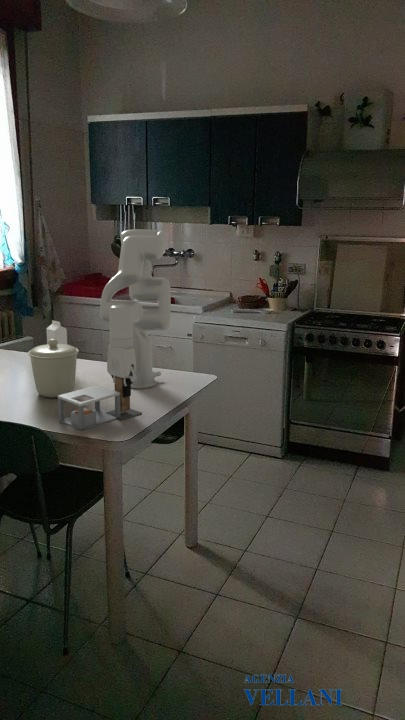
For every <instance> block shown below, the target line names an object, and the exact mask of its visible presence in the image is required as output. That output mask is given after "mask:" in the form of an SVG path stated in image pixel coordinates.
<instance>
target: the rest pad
mask: <svg viewBox="0 0 405 720" xmlns="http://www.w3.org/2000/svg"><path fill="white" fill-rule="evenodd" d="M108 412H109V413H108ZM107 413H108V414H109V415H110V413H112V414H111V416H115V415H114V414H115V409H112V410H109V411H107ZM142 414H143V412H142V411H138V410H135V409H133V408H130V410H127V411H124V412H121V411H120V417H117V419H116V420H119V421H125V420H127V419H128V420H129V419H131V418H134V417H136V416H139V415H142Z"/></svg>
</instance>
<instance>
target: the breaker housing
mask: <svg viewBox="0 0 405 720" xmlns="http://www.w3.org/2000/svg"><path fill="white" fill-rule="evenodd" d="M81 398H87V399H88V400H84V401H79V400H78V399H81ZM111 398H114V410H115V414H114V415H115V416H111V414H112V413H110V415H109V414H108V413H109V411H107V410H104V409H102V408H101V401H103V400H108V399H111ZM64 401H65V402H68V403H70V404H73V405H76V406H77V409H78V414H77V413H76V410H74V411H71V412H70V416H67V417H65V410H64ZM93 403H94V409H90V412H91V413H89V414H85V415H84V406H87V405H89V404H93ZM57 407H58V408H57V409H58V422H60V423H62V424H65V425H68V426H70V427H72V428H74V429H77V430H79V431H84V430H87V429H89V428H90V429H91V428H94V427H96V426H99V425H102V424H105V423H108V422H111V421H115V420H118V419H117V417H120V392H117V391H115V389H113V390H112V389H110V388H107V387H104V386H101V385H98V384H96V385H92V386H89V387H85V388H82V389H81V388H80V389H78V390H73V391H72V392H69V393H65V394H62V395H58V397H57ZM107 412H108V413H107Z"/></svg>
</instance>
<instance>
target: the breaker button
mask: <svg viewBox="0 0 405 720" xmlns="http://www.w3.org/2000/svg"><path fill="white" fill-rule="evenodd" d="M90 410H91V409H89V408H87V407H84V415H85V414H89V413H91V412H90ZM75 411H76V413H77V414H78V408H77V409H75Z"/></svg>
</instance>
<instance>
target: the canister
mask: <svg viewBox="0 0 405 720" xmlns="http://www.w3.org/2000/svg"><path fill="white" fill-rule="evenodd" d="M79 351H80V350H79V349H78V348H77V347H74V346H73V345H70V344H68V343H67V344H58V341H57V340H56V339H50V340H49V341H48V344H47V343H46V344H42V345H37V346H35V347H33V348H31V349H30V350H29V351H28V352H27V355H28V356H29V357H30V358H29V359H30V362H31V363H30V364H31V368H32V369H31V370H32V374H33V379H34V385H35V389H36V391H37V393H38V395H40V396H41V397H45V398H50V399H52V398H57V399H58V395H62V394H65V393H69V392H73V391H74V389H75V384H76V375H77V374H76V372H77V356H78V354H79Z"/></svg>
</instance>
